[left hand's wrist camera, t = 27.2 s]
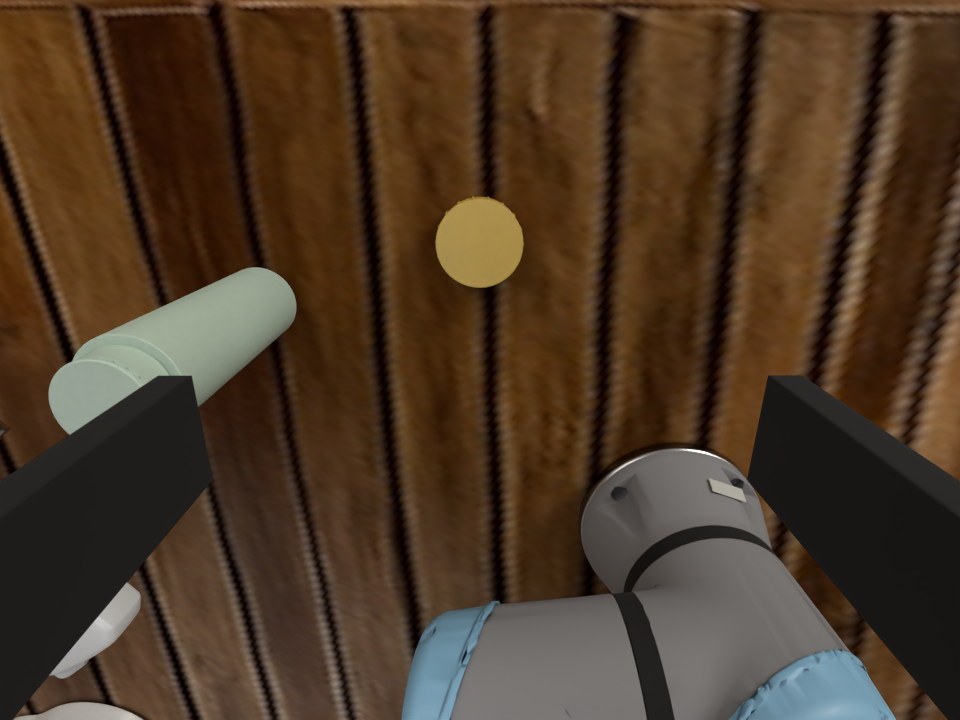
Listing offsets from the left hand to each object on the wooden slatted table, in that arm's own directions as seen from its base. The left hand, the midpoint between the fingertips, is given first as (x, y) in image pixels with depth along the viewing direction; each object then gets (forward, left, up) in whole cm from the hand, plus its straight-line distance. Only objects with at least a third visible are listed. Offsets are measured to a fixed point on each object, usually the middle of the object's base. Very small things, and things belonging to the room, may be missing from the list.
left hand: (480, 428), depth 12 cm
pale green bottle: (-3, +17, -29) cm, 33 cm away
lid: (0, 0, -27) cm, 27 cm away
